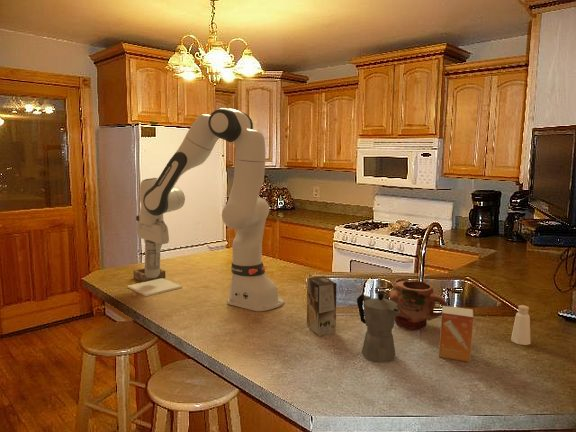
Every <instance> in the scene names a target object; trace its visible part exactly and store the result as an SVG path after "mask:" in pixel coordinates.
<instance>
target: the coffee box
mask: <svg viewBox="0 0 576 432" xmlns="http://www.w3.org/2000/svg"><path fill="white" fill-rule="evenodd" d="M306 296H307V297H306V326H307V327H308V328H309V330H311V331H312V332H314V333H315V334H316V335H317V336H320V337H321V336H323V335H329V334H335V333H337V332H336V331H337V330H336V329H337V327H336V326H337V282H335V281H333V280H331V279H330V278H328V277H326V276H325V275H322V276H313V277H309V278H308V277H307V279H306Z"/></svg>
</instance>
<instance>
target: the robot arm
mask: <svg viewBox="0 0 576 432" xmlns="http://www.w3.org/2000/svg"><path fill="white" fill-rule="evenodd" d="M219 139H222V140H223V141H226V142H229V143H233V144H234V146H235V157H234V158H235V159H234V171H233V182H232V186H231V189H230V193H229V197H228V199H227V202H226V204H225V206H224V207H223V209H222V212H221V218H222V222H223V223H224V224H225V226H227V227H228V228H229V229H231V230H236V232H235V237H234V238H233V241H232V246H231V247H232V262H231V266H230V268H231V274H232V275H231V279H230V282H229V292H228V294H229V295H228V299H227V301H226V304H227V305H229V306H230V305H231V306H234V307H238V308H242V309H245V310H249V311H253V312H264V311H265V312H266V311H270V310H273V309H277V308H279V307H281V306H283V305H284V304H285V300H284V299H283V298H281V297H279V295H278V294H279V293H278V287H277V286H276V284H275V282H273V281H272V280H271V279H270V278H269V277H268V275H267V274H266V270H267V266H264V263H263V260H262V258H263V256H262V254H263V250H262V248H263V245H262V244H263V236H264V233H265V226H266V221H267V218H268V215H269V213H270V206H269V205H270V204H269V203H268V202H267V200H265V198H263V197H260V196H259V194H260V191H261V189H262V186H263V185H264V182H265V169H266V142H265V141H266V140H265V136H264V134H263V133H262V132H260V131H259V130H256V129H254V123H253V120H252V117H250V116H249V114H247V113H245V112H243V111H240V110H238V109H235V108H227V107H220V108H216V109H215V110H214V111H213V112H211V114H208V113H203V114H200V115H198V116H197V117H196V119H195V120H194V121H193V122H192V124H191V126H190V127H189V129H188V131H187V133H186V135H185V136H184V138H183V141H182V142H181V143H180V146H179V147H178V149H177V150H176V151H175V152H174V154H173V155H172V157H170V159H169V161H168V162H167V164H165V167H164V169H163V170H162V172H160V173H161V174H160V175H159V176H158V177H152V178H145V179H142V180H141V181H140V186H139V202H140V209H139V214H137V215H135V218H134V219H135V221H136V235H137V237H138V238H139V239H142V240H144V245H145V244H146V243H147V240H149V241H152V242H155V243H156V249H155V253H160V254H161V248H162V246H163V245H166V244H169V242H170V236H169V228H168V226H167V224H166V223H165V221H164V214H166V213H171V212H174V211H178V210H180V209H182V207H183V206H184V205H185V201H186V197H185V194H184V192H183V190H182V189H181V188H180V187H177V186H175V185H176V184H177V183H178V180H179V179H180V177H181V176H182V175H183V174H185V173H186V172H188V171H189V170H191V169H193V168H196V167H198V166H201V165H203V164H204V163H205V162H206V160H207V159H208V158H209V156H210V155H211V153H212V151H213V149H214V147H215V145H216V144H217V142H218V140H219Z"/></svg>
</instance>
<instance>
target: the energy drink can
mask: <svg viewBox="0 0 576 432" xmlns="http://www.w3.org/2000/svg"><path fill="white" fill-rule="evenodd" d="M155 249H156V243H155V242H152V241H149V240H147V243H146V244H145V243H144V268H145V275H146V277H148V278H156V277H158V275H159V274H160V269H161V252H160V253H155Z"/></svg>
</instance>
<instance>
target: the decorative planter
mask: <svg viewBox="0 0 576 432" xmlns="http://www.w3.org/2000/svg"><path fill="white" fill-rule="evenodd" d="M388 298H389V300H392V301H394V302H395V303H396V304H398V310H400V313H399V314H397V315H396V318H395V324H396V325H397V326H398V327H400V328H402V329H405V330H408V331H420V330H422V329H424V328H426V326H427V322H428V321H431V320H435V319H437V318H439V317H440V316H441V317H442V310H441V311H440V312H438V313H436V312H435V311H434V310H435V309H434V308H435V306H436V302H437V303H440V305H441V306H442V308H443V306H448V303H447V301H446V299H445V298H444V297H442V296H441V295H438V294H435V293H434V288H433V287H432V286H431V284H429V283H427V282H424V281H421V280H401V281H397V282H395V283H394V284H393V286H392V290H389V292H388ZM442 308H441V309H442Z"/></svg>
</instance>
